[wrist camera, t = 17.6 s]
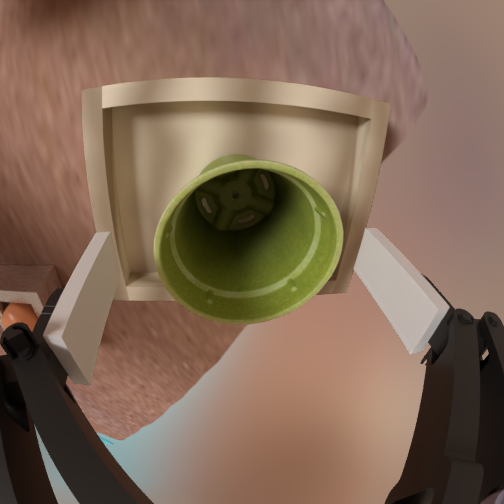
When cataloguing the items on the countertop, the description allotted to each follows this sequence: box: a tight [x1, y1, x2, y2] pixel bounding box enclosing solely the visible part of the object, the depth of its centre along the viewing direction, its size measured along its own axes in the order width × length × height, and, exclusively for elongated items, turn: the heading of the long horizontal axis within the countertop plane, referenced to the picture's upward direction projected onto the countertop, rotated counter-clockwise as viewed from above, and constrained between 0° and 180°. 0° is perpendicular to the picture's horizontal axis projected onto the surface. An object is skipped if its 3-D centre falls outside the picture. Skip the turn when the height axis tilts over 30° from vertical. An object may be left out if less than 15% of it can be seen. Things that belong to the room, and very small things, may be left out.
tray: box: [82, 78, 391, 301], centre depth 21 cm, size 21×17×4 cm
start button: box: [1, 302, 38, 332], centre depth 22 cm, size 5×5×3 cm
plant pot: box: [154, 154, 343, 325], centre depth 17 cm, size 9×9×9 cm
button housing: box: [0, 265, 62, 331], centre depth 23 cm, size 9×9×4 cm
